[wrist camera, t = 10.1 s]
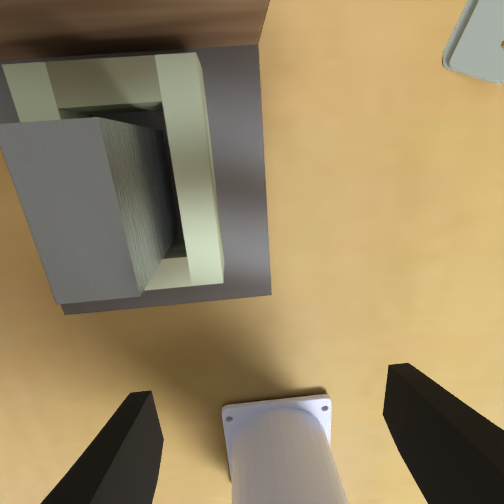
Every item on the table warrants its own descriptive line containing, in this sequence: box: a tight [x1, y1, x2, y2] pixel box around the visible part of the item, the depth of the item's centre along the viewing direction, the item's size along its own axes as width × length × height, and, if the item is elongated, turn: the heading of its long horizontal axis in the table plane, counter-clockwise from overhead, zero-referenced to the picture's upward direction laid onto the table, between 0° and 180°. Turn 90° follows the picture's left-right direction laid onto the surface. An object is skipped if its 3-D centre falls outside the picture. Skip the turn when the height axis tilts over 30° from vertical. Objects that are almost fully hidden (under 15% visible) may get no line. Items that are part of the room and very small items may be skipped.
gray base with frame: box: [0, 0, 272, 315], centre depth 13 cm, size 14×12×6 cm
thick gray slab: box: [0, 117, 179, 304], centre depth 11 cm, size 5×2×7 cm, turn 4°
